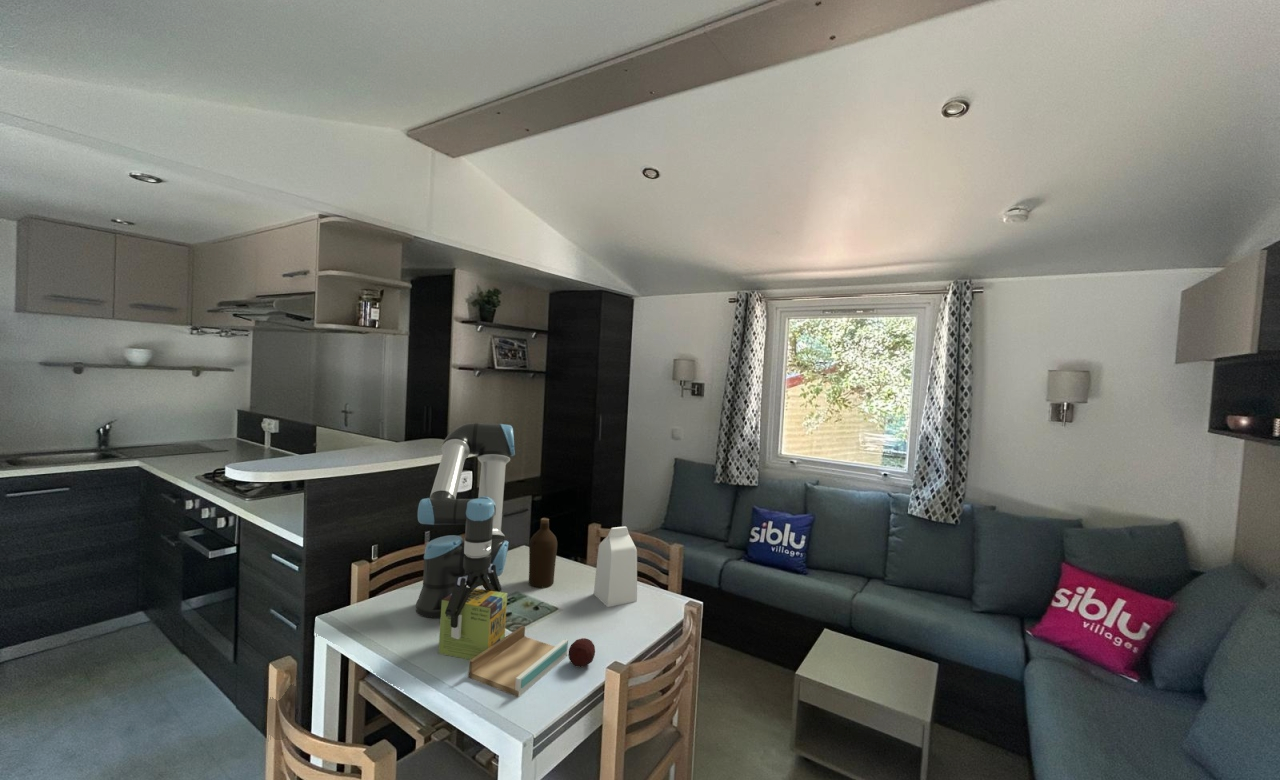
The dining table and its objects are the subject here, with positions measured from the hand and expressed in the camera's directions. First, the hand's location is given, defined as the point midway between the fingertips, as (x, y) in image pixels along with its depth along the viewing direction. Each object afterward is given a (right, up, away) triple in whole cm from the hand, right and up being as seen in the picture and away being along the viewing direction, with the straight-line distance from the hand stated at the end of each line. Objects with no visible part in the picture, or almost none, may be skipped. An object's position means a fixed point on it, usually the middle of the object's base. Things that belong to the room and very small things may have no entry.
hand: (473, 627), depth 145 cm
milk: (+39, -8, +41) cm, 57 cm away
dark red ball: (+31, -9, -4) cm, 33 cm away
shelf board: (+15, -7, -7) cm, 18 cm away
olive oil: (+10, -6, +50) cm, 51 cm away
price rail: (+22, -8, -10) cm, 25 cm away
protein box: (-1, -7, 0) cm, 7 cm away
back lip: (+8, -7, -4) cm, 11 cm away
